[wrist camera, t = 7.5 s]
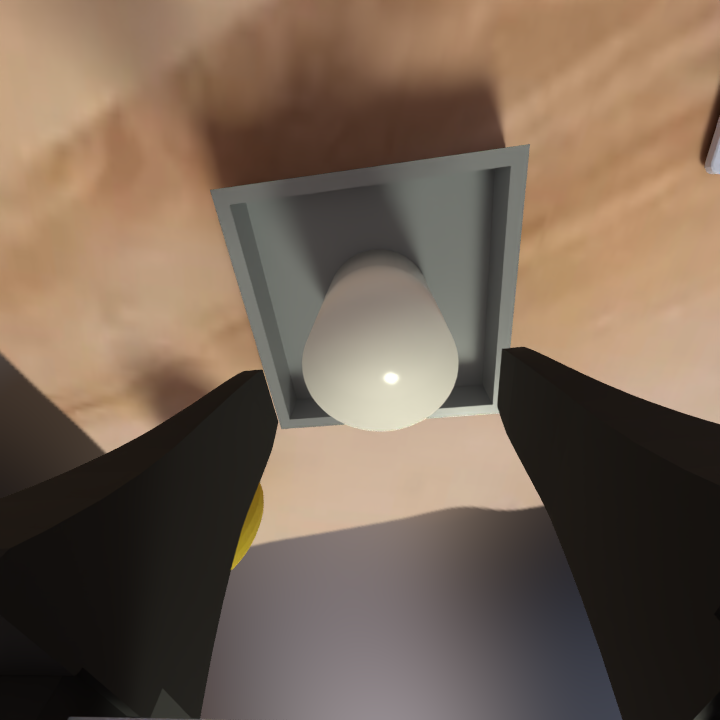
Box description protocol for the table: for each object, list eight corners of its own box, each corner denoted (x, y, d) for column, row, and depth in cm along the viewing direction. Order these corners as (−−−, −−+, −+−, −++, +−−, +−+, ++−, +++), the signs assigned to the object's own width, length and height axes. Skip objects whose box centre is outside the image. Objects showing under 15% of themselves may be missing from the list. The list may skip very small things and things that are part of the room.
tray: (506, 148, 14) (529, 144, 12) (489, 386, 20) (503, 413, 18) (233, 187, 15) (209, 190, 13) (291, 402, 21) (281, 428, 19)
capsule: (424, 240, 16) (455, 283, 9) (431, 338, 18) (461, 423, 12) (318, 258, 16) (284, 309, 10) (339, 351, 19) (321, 437, 12)
